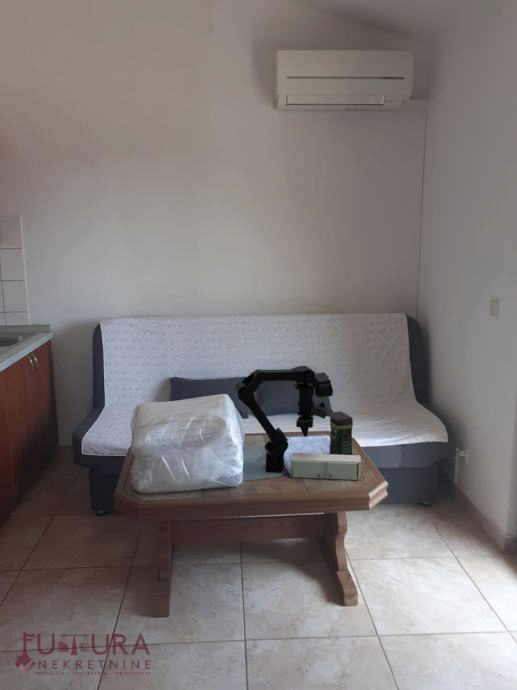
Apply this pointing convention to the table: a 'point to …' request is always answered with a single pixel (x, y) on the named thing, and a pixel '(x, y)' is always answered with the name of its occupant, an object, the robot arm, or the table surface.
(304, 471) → the door
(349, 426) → the coffee jar
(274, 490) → the table surface
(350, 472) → the cabinet
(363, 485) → the table surface
